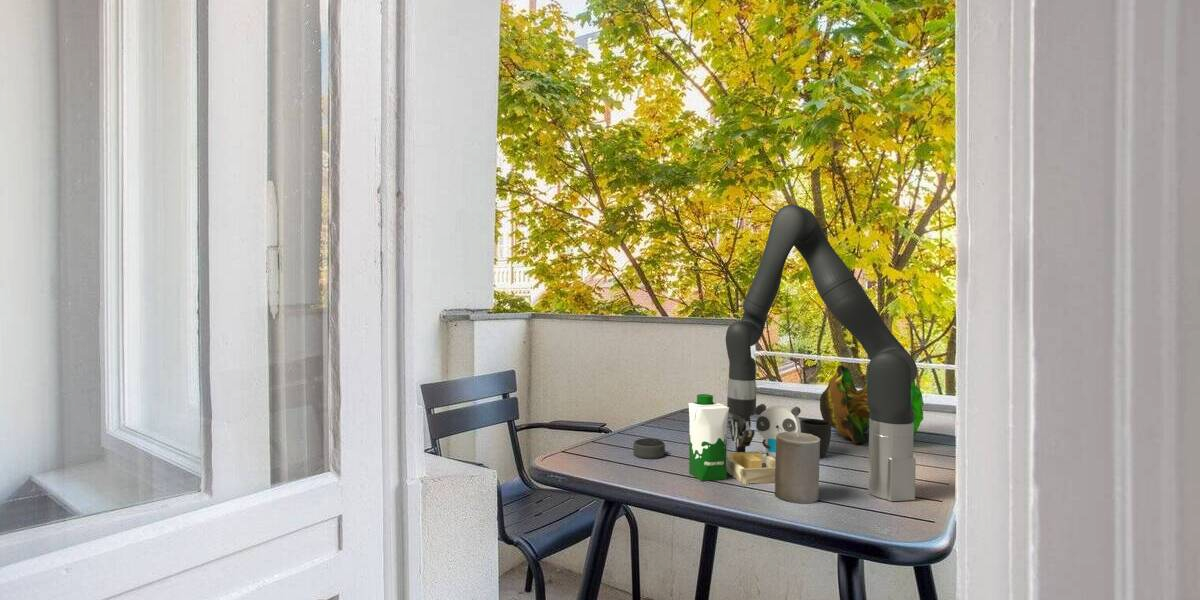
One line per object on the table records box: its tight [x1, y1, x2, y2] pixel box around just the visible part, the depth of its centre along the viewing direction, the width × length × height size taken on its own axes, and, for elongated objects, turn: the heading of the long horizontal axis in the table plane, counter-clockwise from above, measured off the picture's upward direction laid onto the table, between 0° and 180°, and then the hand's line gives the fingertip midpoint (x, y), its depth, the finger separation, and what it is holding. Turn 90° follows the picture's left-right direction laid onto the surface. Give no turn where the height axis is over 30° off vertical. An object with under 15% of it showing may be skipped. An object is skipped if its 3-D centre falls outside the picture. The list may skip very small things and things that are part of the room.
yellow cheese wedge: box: [728, 451, 763, 469], centre depth 157 cm, size 8×8×4 cm
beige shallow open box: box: [726, 456, 775, 485], centre depth 153 cm, size 11×12×4 cm
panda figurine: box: [755, 403, 802, 464], centre depth 167 cm, size 12×11×15 cm
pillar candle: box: [774, 431, 821, 505], centre depth 138 cm, size 10×10×15 cm
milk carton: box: [688, 393, 729, 482], centre depth 153 cm, size 9×9×20 cm
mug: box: [799, 418, 832, 459], centre depth 175 cm, size 8×12×10 cm
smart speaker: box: [632, 438, 666, 460], centre depth 172 cm, size 9×9×4 cm
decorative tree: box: [819, 364, 925, 445], centre depth 191 cm, size 27×28×30 cm
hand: (740, 459), depth 163 cm, fingers closed
